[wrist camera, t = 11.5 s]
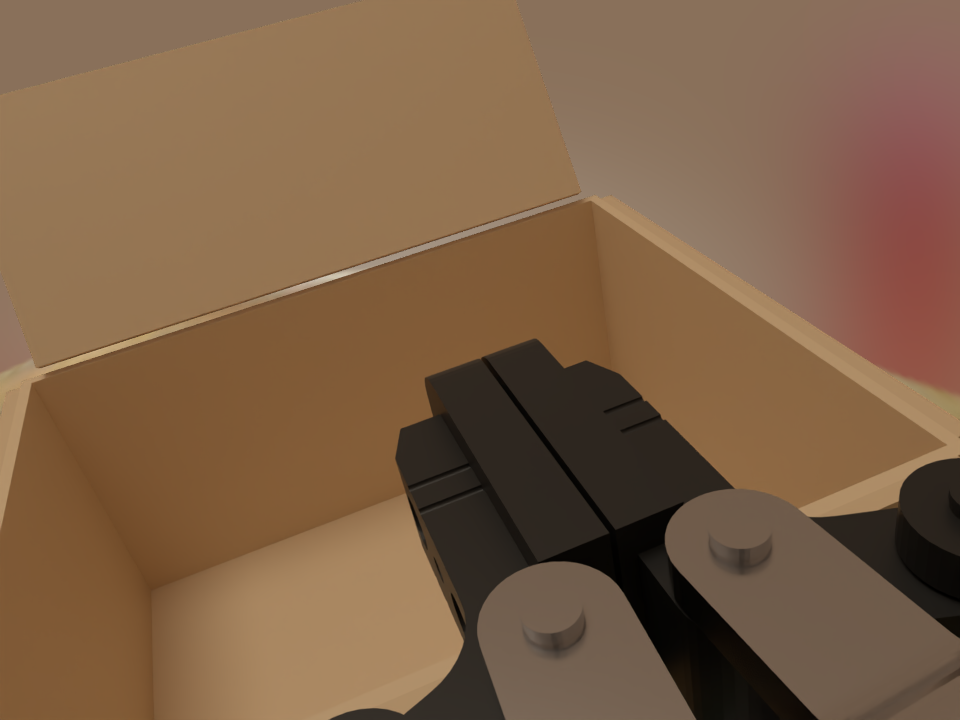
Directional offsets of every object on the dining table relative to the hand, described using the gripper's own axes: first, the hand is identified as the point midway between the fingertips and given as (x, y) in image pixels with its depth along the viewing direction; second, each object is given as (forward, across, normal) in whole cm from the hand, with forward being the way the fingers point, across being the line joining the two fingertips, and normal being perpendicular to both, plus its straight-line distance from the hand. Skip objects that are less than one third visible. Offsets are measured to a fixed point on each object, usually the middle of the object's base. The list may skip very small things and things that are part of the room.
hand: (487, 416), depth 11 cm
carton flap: (+25, 0, +3) cm, 25 cm away
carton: (+13, 0, +20) cm, 24 cm away
